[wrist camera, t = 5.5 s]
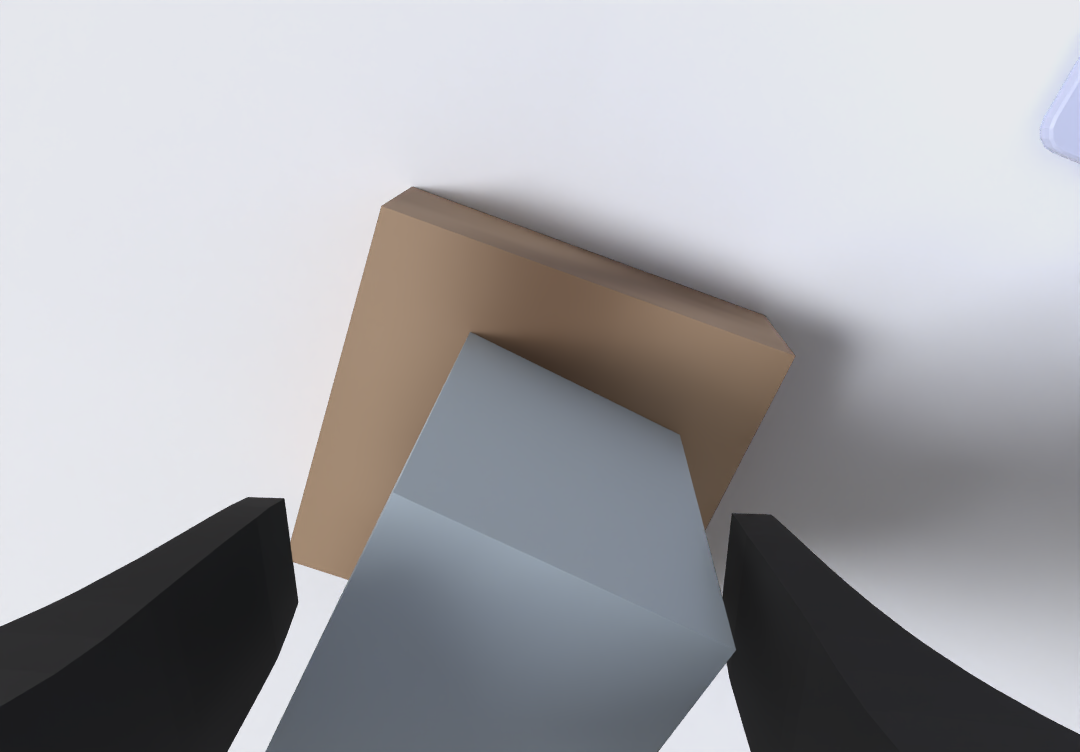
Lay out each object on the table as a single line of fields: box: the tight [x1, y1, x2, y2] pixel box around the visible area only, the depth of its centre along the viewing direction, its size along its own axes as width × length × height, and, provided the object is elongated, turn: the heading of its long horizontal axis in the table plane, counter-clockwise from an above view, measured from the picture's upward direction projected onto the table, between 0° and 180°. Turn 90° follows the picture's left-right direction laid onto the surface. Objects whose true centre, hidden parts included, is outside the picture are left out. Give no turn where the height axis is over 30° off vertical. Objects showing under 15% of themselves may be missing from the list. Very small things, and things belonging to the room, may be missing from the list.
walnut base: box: [290, 187, 795, 580], centre depth 17 cm, size 8×8×3 cm
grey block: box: [266, 332, 736, 752], centre depth 12 cm, size 4×4×6 cm
